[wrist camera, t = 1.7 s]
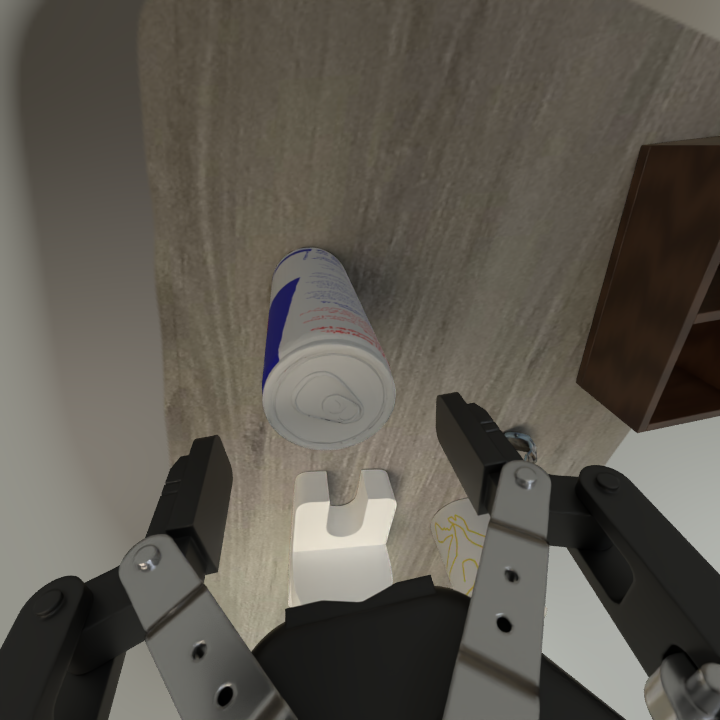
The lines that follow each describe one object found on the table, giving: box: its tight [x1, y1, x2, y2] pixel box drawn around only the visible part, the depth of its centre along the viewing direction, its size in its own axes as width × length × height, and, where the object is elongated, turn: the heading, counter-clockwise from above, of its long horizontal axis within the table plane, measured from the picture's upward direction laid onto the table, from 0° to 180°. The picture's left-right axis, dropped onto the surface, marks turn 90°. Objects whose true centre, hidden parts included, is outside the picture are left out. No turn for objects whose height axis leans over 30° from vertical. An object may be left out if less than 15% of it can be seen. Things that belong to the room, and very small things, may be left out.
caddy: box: [576, 136, 720, 433], centre depth 29 cm, size 21×11×8 cm, turn 5°
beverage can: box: [262, 247, 396, 450], centre depth 21 cm, size 6×6×15 cm
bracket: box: [288, 469, 397, 607], centre depth 38 cm, size 19×10×11 cm, turn 172°
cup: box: [430, 498, 547, 618], centre depth 41 cm, size 8×8×12 cm
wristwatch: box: [504, 432, 537, 464], centre depth 38 cm, size 3×5×5 cm
